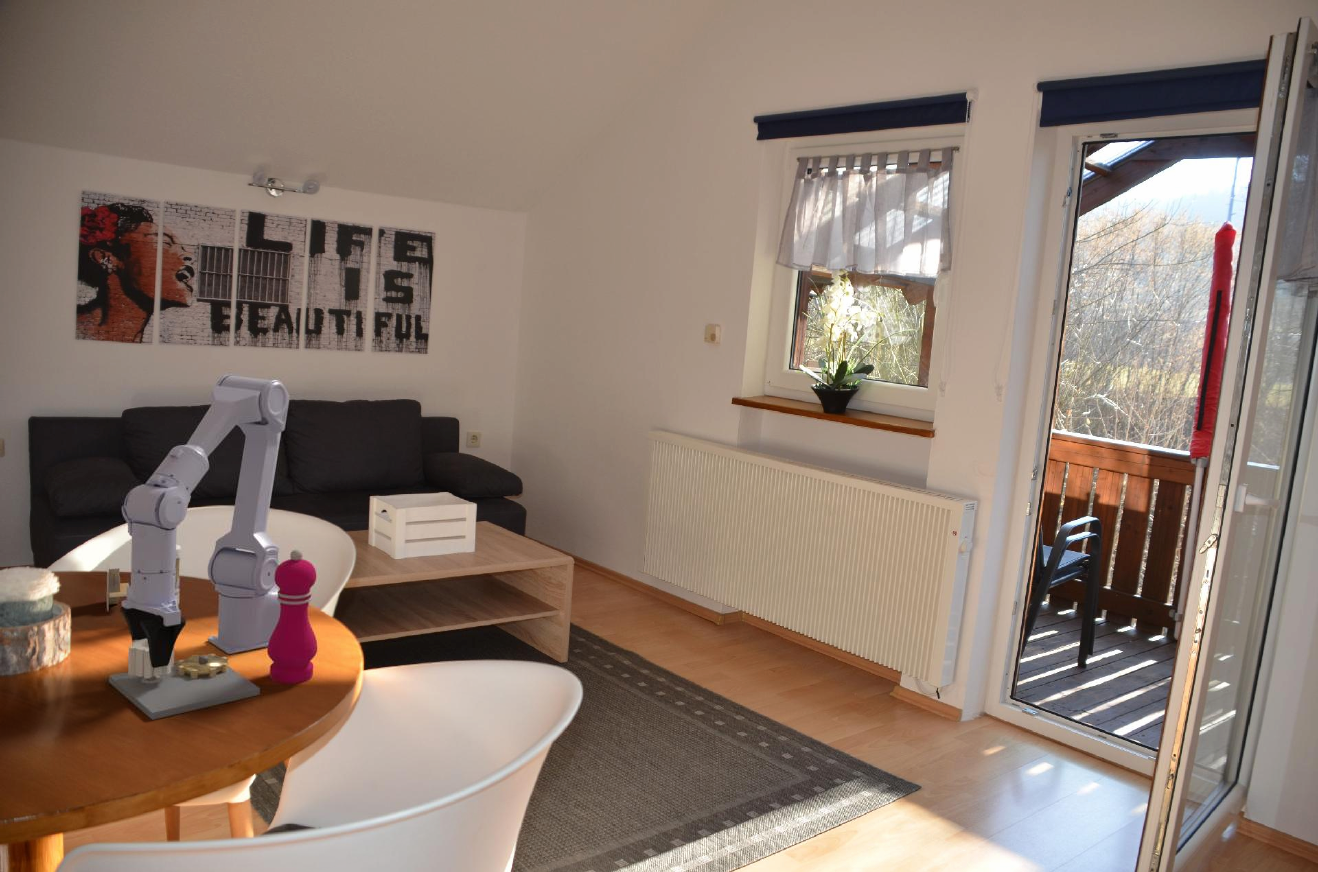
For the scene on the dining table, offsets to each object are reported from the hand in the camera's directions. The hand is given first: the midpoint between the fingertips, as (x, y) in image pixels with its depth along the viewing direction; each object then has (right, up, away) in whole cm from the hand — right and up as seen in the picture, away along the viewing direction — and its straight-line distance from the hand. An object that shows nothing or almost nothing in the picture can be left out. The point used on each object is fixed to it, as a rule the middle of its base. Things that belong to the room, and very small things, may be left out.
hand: (151, 659), depth 147 cm
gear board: (+4, -5, +1) cm, 6 cm away
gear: (0, -2, 0) cm, 2 cm away
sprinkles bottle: (-11, 0, +27) cm, 29 cm away
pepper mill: (+17, -5, +9) cm, 20 cm away
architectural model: (-23, +2, +33) cm, 40 cm away
